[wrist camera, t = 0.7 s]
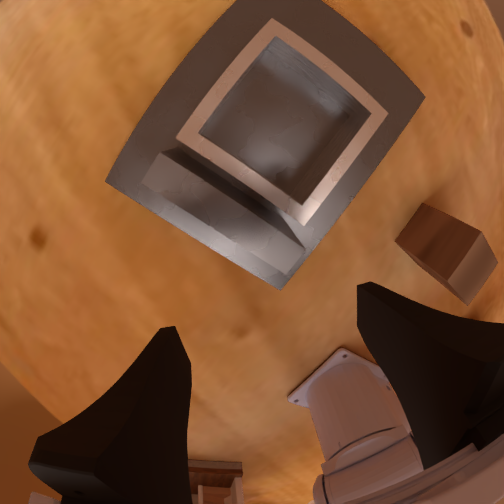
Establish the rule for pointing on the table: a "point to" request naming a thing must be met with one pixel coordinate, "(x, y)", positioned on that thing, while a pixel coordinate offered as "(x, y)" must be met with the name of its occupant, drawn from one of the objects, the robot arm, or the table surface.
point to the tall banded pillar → (216, 482)
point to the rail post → (448, 251)
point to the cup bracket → (267, 133)
